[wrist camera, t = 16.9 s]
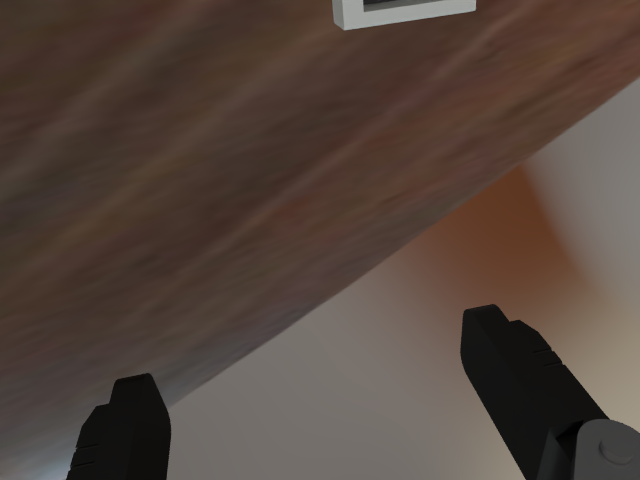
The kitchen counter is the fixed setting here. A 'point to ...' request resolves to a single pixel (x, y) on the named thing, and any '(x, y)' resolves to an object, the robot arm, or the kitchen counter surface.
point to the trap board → (393, 11)
